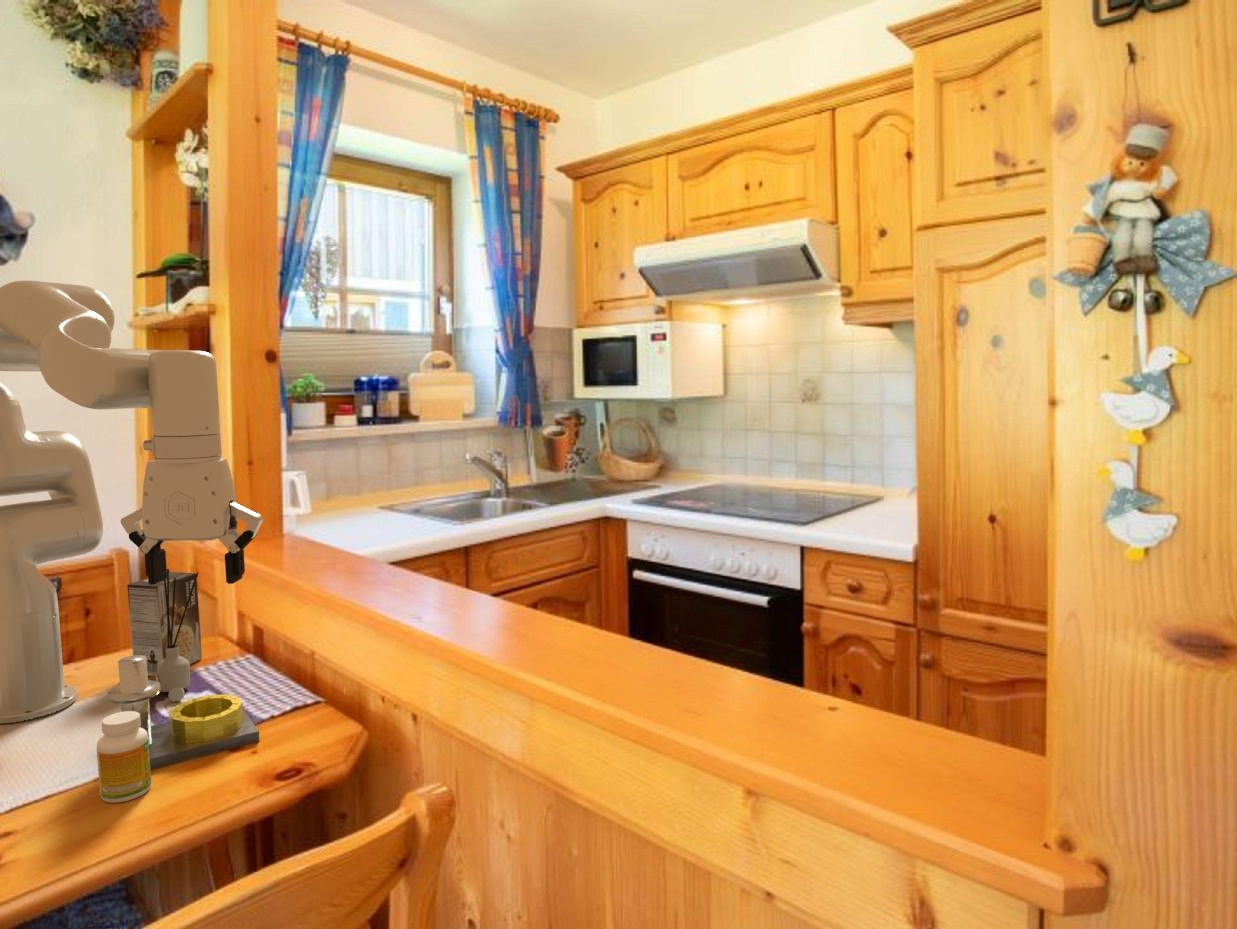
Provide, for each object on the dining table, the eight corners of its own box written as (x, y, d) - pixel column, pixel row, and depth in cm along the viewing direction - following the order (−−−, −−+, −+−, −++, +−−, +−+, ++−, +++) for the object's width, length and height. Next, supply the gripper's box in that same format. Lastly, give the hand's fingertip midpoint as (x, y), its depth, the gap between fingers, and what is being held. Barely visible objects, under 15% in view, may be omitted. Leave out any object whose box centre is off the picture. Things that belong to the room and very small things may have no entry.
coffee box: (172, 656, 144) (167, 570, 142) (203, 659, 142) (198, 572, 141) (132, 675, 135) (126, 583, 133) (164, 678, 133) (158, 585, 132)
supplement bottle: (156, 793, 97) (151, 718, 96) (104, 809, 94) (99, 731, 92) (146, 776, 101) (141, 704, 100) (96, 791, 98) (91, 716, 96)
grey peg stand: (117, 778, 101) (110, 677, 99) (108, 746, 109) (101, 652, 108) (259, 741, 111) (254, 648, 109) (240, 714, 120) (236, 628, 118)
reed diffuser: (151, 686, 130) (144, 567, 128) (197, 676, 134) (191, 561, 132) (164, 706, 122) (156, 580, 120) (212, 694, 127) (206, 573, 124)
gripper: (99, 452, 95) (109, 590, 97) (244, 451, 96) (252, 588, 98) (135, 446, 103) (144, 575, 105) (269, 446, 103) (276, 573, 105)
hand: (196, 581), depth 101 cm, fingers open, 9 cm apart
